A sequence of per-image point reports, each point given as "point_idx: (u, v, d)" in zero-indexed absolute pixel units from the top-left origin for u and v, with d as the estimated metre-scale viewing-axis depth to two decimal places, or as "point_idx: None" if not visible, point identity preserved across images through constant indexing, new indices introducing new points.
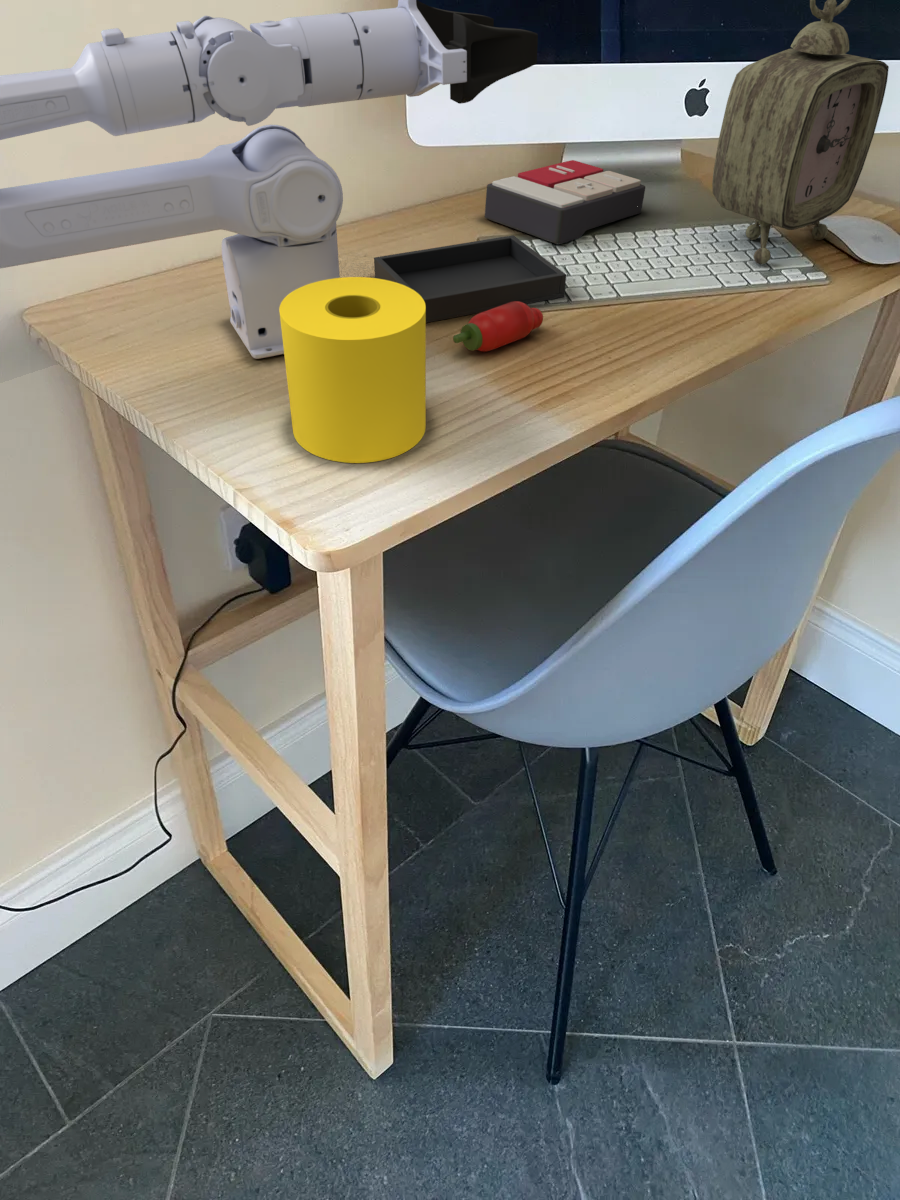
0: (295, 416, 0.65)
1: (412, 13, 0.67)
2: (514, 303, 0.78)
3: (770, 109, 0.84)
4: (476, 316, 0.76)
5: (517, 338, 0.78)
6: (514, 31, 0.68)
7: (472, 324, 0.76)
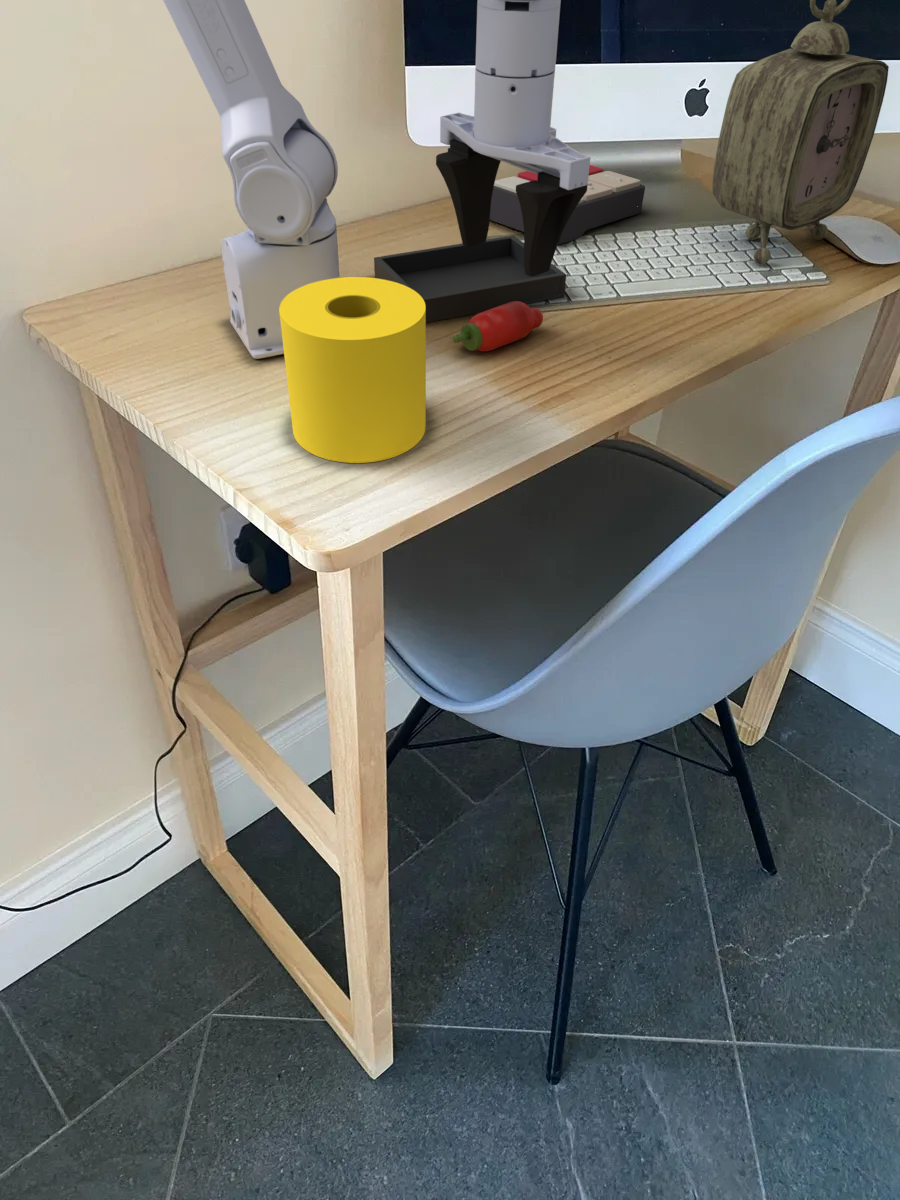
0: (295, 416, 0.65)
1: (552, 135, 0.68)
2: (513, 303, 0.78)
3: (770, 109, 0.84)
4: (476, 316, 0.76)
5: (517, 338, 0.78)
6: (557, 243, 0.71)
7: (472, 324, 0.76)
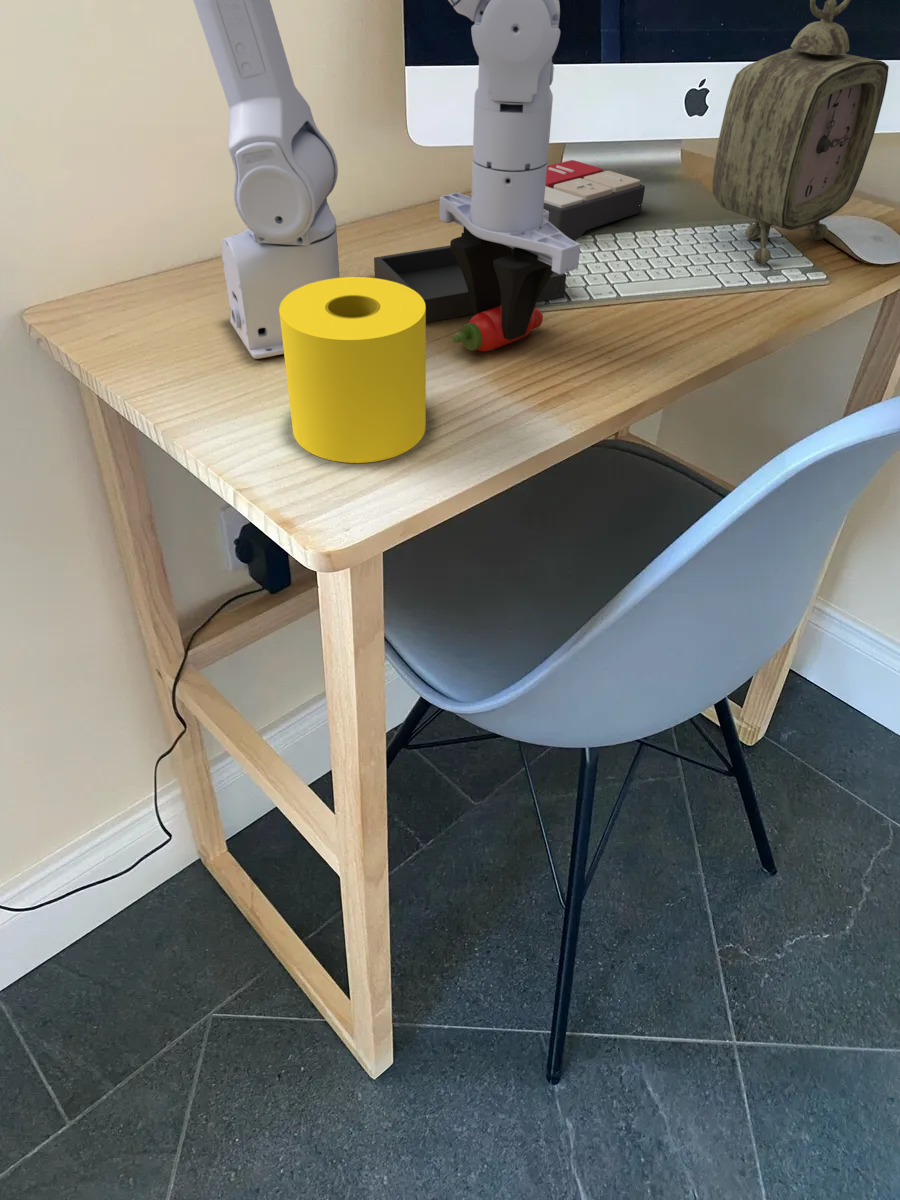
0: (295, 416, 0.65)
1: (544, 218, 0.73)
2: None
3: (770, 109, 0.84)
4: (476, 316, 0.76)
5: (517, 338, 0.78)
6: None
7: (472, 324, 0.76)
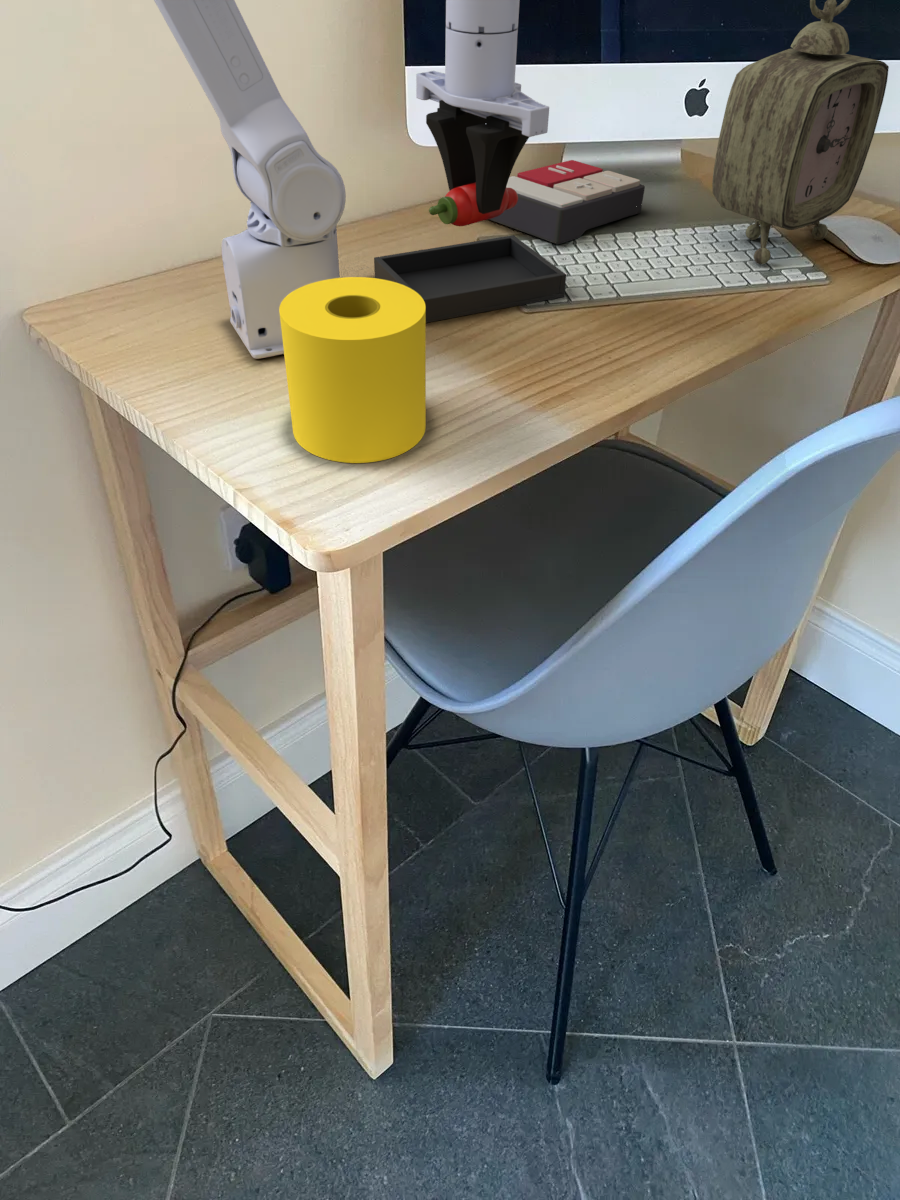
0: (295, 416, 0.65)
1: (516, 89, 0.75)
2: None
3: (770, 109, 0.84)
4: (451, 190, 0.79)
5: (492, 214, 0.81)
6: (506, 183, 0.79)
7: (448, 197, 0.79)
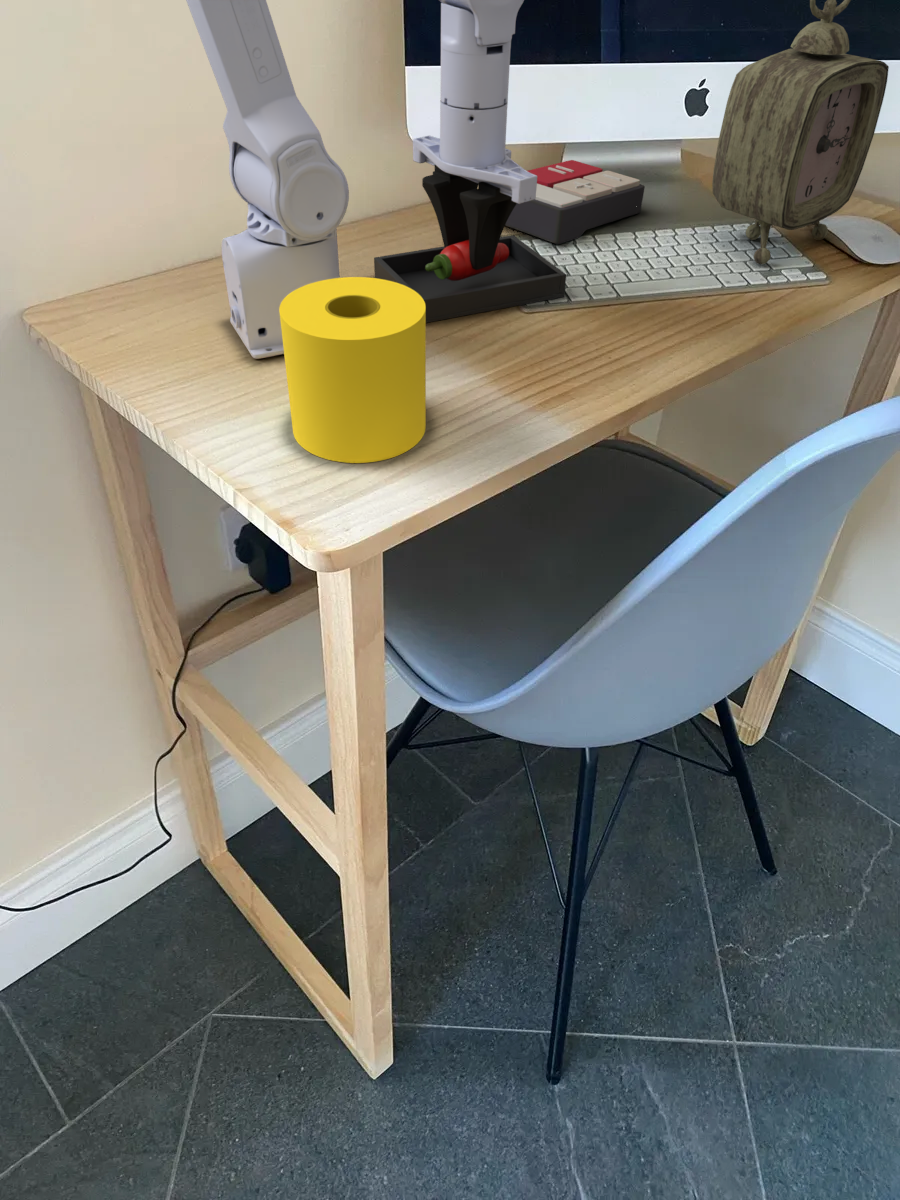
0: (295, 416, 0.65)
1: (507, 156, 0.80)
2: None
3: (770, 109, 0.84)
4: (446, 247, 0.84)
5: (485, 269, 0.86)
6: None
7: (443, 255, 0.84)
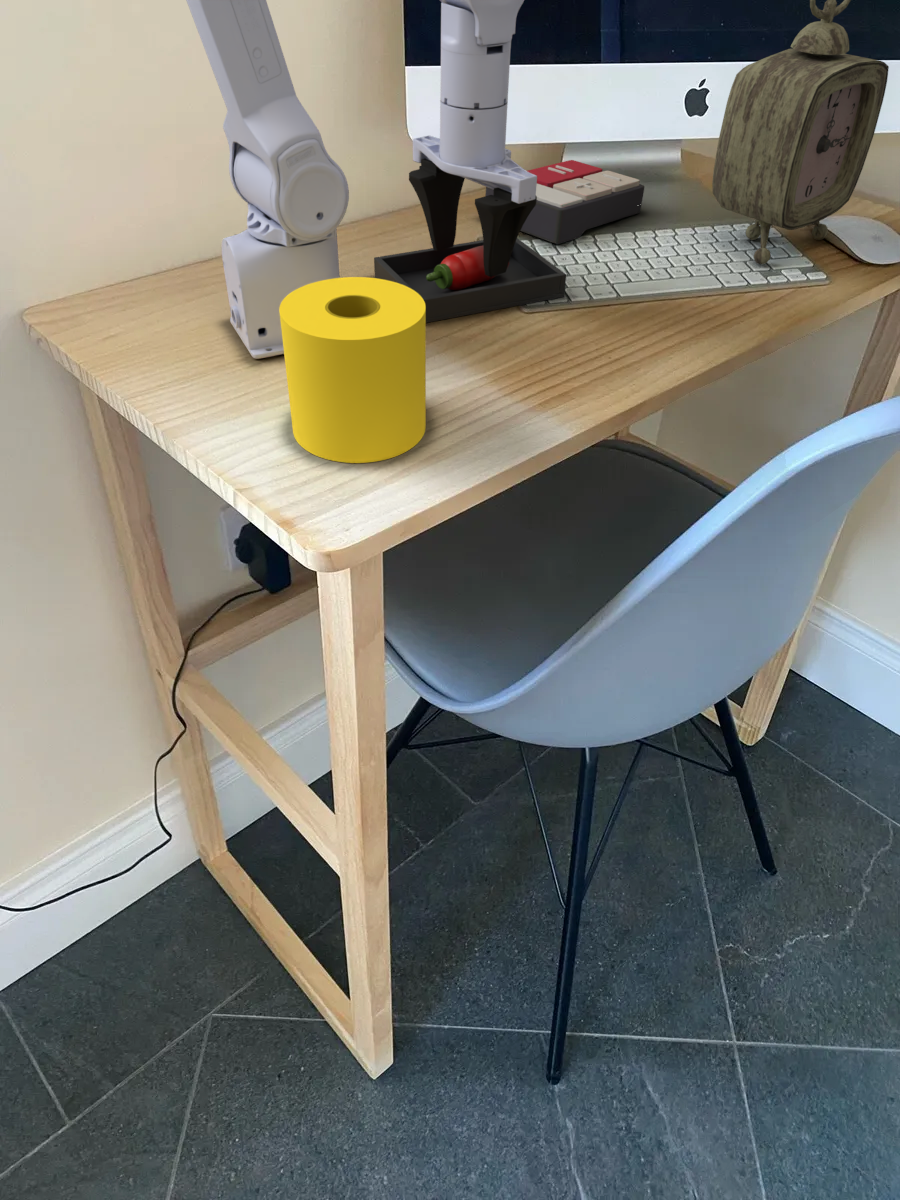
0: (295, 416, 0.65)
1: (506, 156, 0.80)
2: (482, 247, 0.86)
3: (770, 109, 0.84)
4: (448, 257, 0.85)
5: (484, 279, 0.87)
6: (512, 248, 0.83)
7: (444, 265, 0.84)
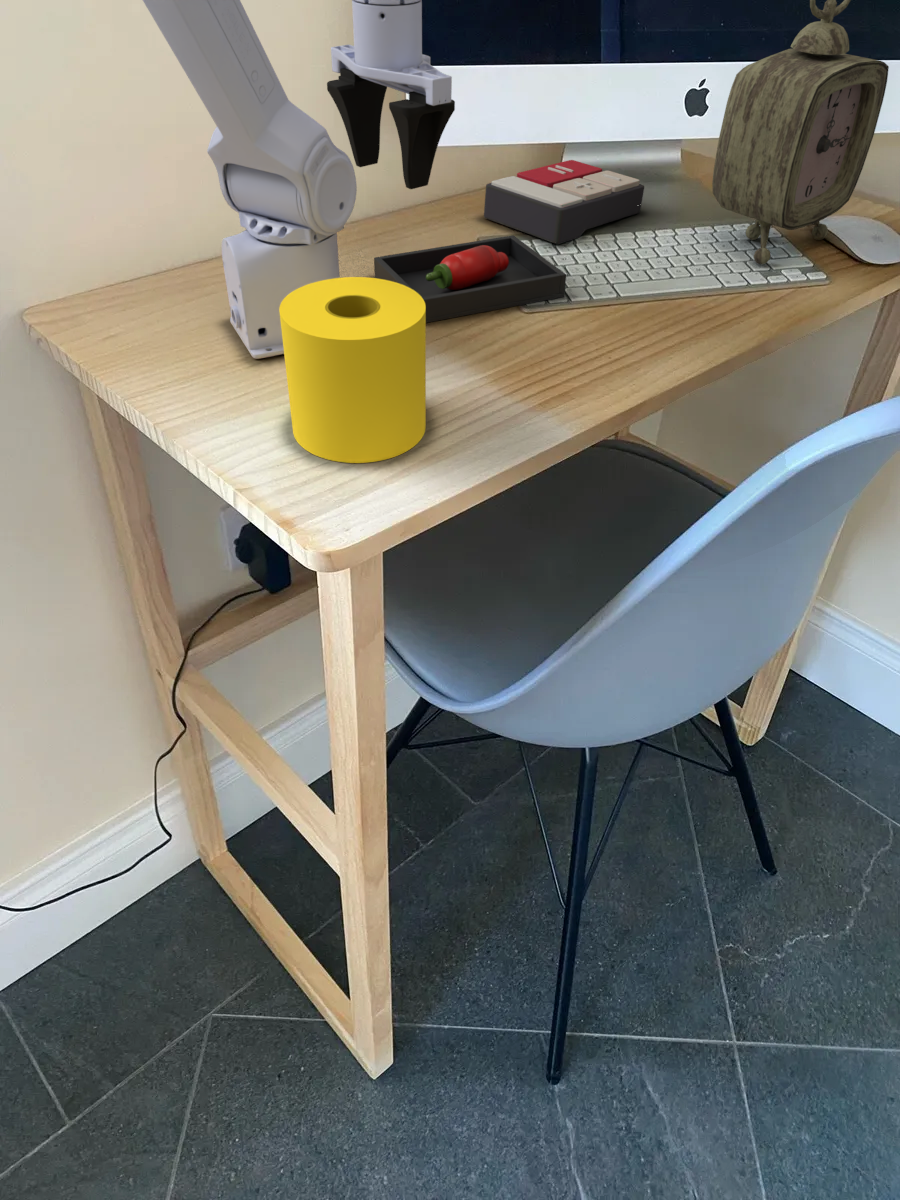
0: (295, 416, 0.65)
1: (424, 61, 0.78)
2: (481, 247, 0.86)
3: (770, 109, 0.84)
4: (447, 257, 0.85)
5: (484, 279, 0.87)
6: (433, 159, 0.80)
7: (443, 264, 0.84)
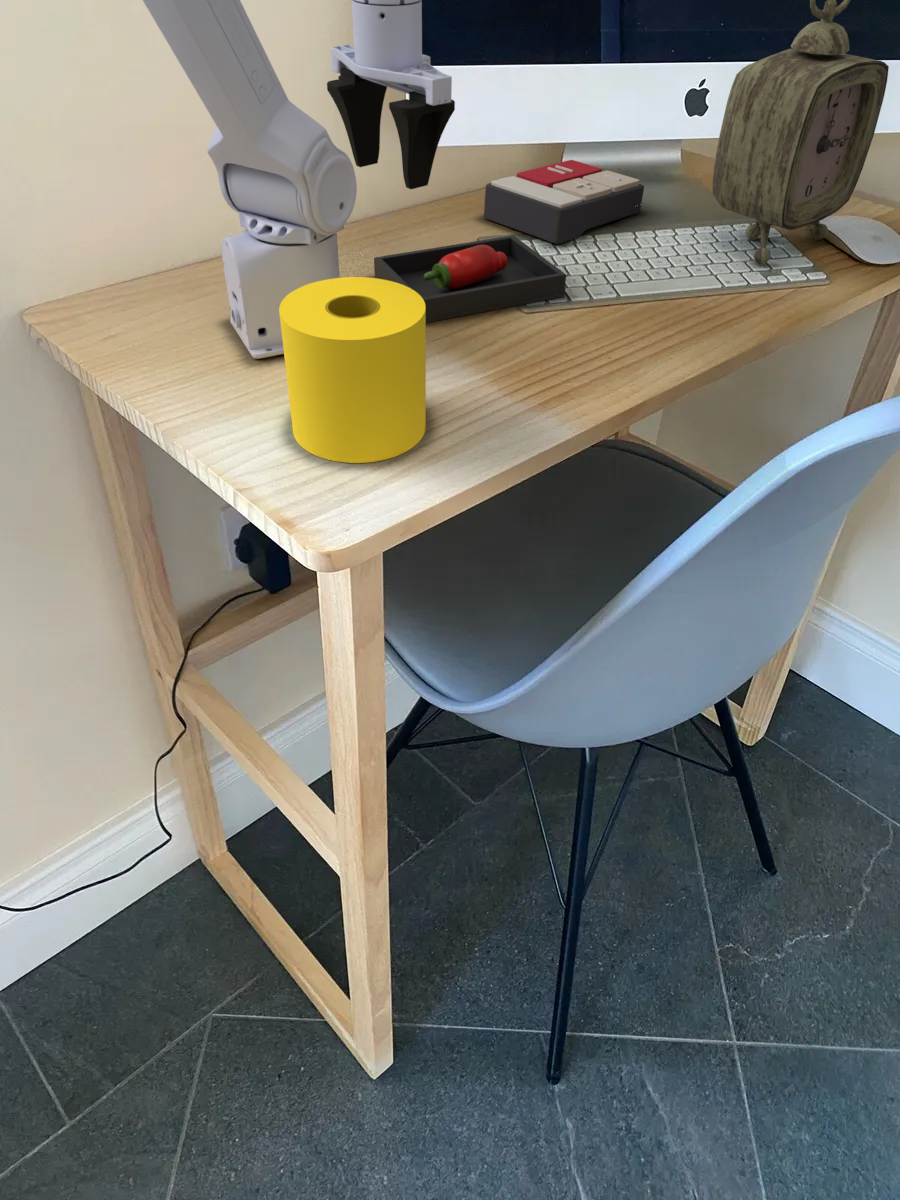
0: (295, 416, 0.65)
1: (424, 61, 0.78)
2: (478, 246, 0.86)
3: (770, 109, 0.84)
4: (444, 257, 0.85)
5: (484, 276, 0.87)
6: (433, 159, 0.80)
7: (441, 263, 0.84)
